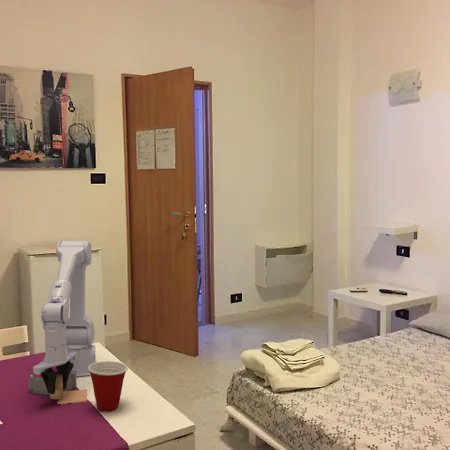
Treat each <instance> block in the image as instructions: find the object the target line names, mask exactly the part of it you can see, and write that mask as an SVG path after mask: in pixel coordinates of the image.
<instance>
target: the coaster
mask: <svg viewBox="0 0 450 450" xmlns="http://www.w3.org/2000/svg"><path fill="white" fill-rule="evenodd" d="M81 402H83V403H87V402H88V389H74V390H69V391H64V392H63V397H62V398H59V399H57V405H58V404H62V405H68V404H67V403H72V404H81Z"/></svg>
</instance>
